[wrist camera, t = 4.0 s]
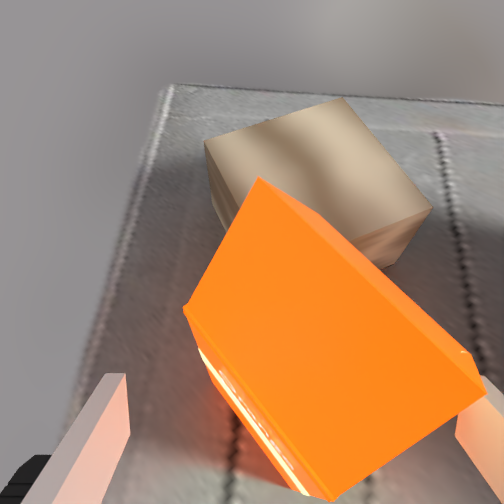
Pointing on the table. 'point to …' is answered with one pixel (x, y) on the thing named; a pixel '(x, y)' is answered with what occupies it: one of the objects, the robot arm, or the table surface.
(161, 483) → the table surface
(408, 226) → the birch block
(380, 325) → the orange juice
